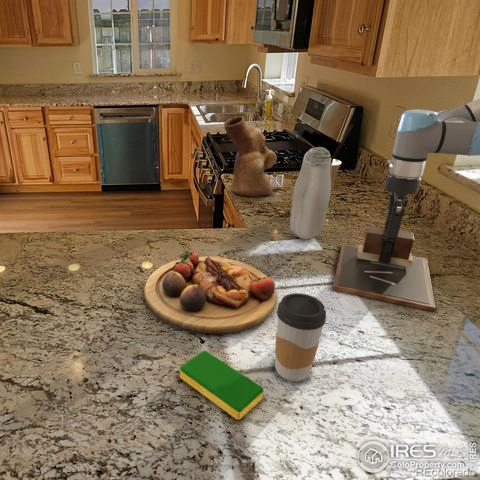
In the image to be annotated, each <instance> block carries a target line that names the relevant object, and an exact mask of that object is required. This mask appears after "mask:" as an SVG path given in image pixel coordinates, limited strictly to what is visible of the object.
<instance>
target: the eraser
mask: <svg viewBox="0 0 480 480" xmlns="http://www.w3.org/2000/svg"><path fill="white" fill-rule="evenodd" d="M386 231H387V228H384V227H382V226H381V227H380V226H375V225H374V226H373V225H366V230H365V234H364V239H363V243H362V244H358V247H359V248H358V255H357V258H360V259H365V260H371V261H377V262H378V261H379V256H380V252H381V248H382V244H383V240H381V239H382V238H385V235H386ZM414 241H415V237H414V232H413V231H409V230H401V229H399V233H398V236H397V242H396V243H395V245H394V249H393V253H392V257H391V261H390V264H394V265H399V266H405V267H411V265H412V262H413V260H412V256H413V254H412V248H413V245H414ZM382 263H383V262H382Z"/></svg>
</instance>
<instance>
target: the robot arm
mask: <svg viewBox="0 0 480 480" xmlns="http://www.w3.org/2000/svg"><path fill="white" fill-rule="evenodd" d="M396 131H397V132H396V136H395V140H394V144H393V145H394V146H393V151H392V153H391V154H392V155H391V159H390V160H387V164H388V165H389V168H388V172H389V173H388V174H387V175H386V180H385V184H384V188H385V189H386V190H387V191H388V192H390V193H391V194H390V195H389V200H388V201H389V203H388V207H387V209H388V211H387V215H386V219H385V222H384V227H383V228H387V231H386V235H385V238H382V239H381V240H383V244H382V248H381V252H380V256H379V261H378V262H383V263H388V264H390V261H391V257H392V253H393V249H394V245H395V243H396V242H397V236H398V233H399V230H401V229H400V228H401V224H402V220H403V217H404V215H405V211H406V207H407V206H408V202H409V199H408V195H414V194H416V193H418V192H419V189H420V186H421V183H422V178H421V177H423V175H424V172H425V169H426V165H427V160H428V157H429V154H444V155H455V156H468V157H472V156H473V157H474V156H477V157H479V156H480V97H479V98H478V99H475V100H472V101H471V102H467V103H466V104H463V105H460V106H459V107H456V108H454V109H445V110H444V109H443V110H440V111H437V112H436V111H434V110H427V109H408V110H406V111H404V112H403V113H402V115H401V118H400V121H399V124H398V128H397V129H396Z"/></svg>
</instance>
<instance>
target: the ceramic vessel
mask: <svg viewBox="0 0 480 480" xmlns="http://www.w3.org/2000/svg"><path fill="white" fill-rule="evenodd" d="M223 128H224V131H225V132H226V135H227V136H228V138H229V139H230V141H231V143H232V144H234V147H236V149H237V153H236V155H235V161H234V163H233V176H232V181H231V183H230V189H231V190H232V191H233V193H235V194H237V195H240V196H246V197H261V196H269V195H272V194H273V193H274V191H273V185H272V183H271V181H270V180H269V178H268V177H267V176H266V174H265V171H266V170H268V169H271V168H272V167H274V165H275V164H276V163H277V160H278V158H277V157H278V156H277V154H276V153H275V152H274V150H272V149H269V148H268V147H267V146H266V145H265V143H266V140H267V138H266V137H265V135H264V133H262V131H261V128H260V124H259V123H256V124H255V126H248V125H247V123H246V120H245V117H244V116H234V117H231V118H229V119H227V120H225V122H224V123H223Z"/></svg>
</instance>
